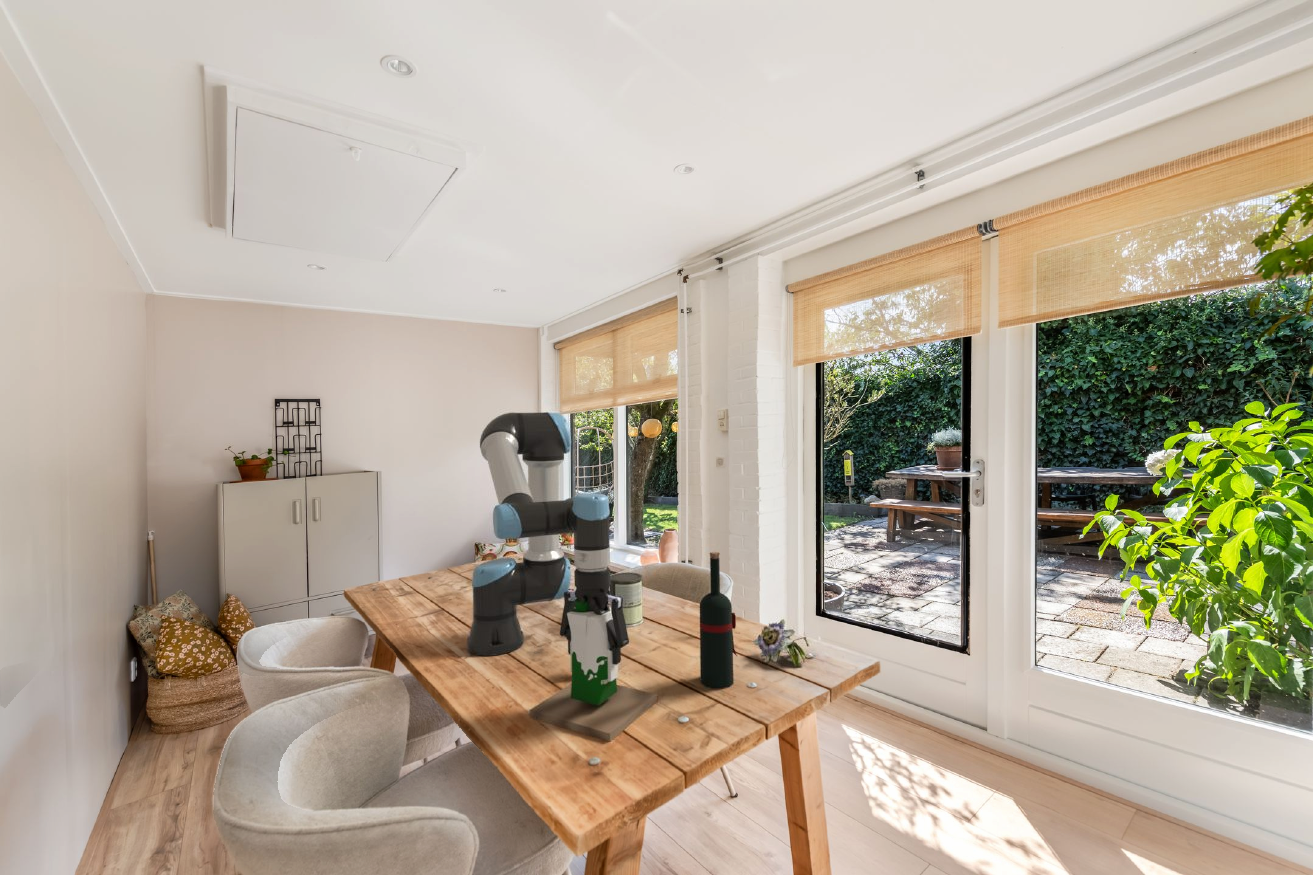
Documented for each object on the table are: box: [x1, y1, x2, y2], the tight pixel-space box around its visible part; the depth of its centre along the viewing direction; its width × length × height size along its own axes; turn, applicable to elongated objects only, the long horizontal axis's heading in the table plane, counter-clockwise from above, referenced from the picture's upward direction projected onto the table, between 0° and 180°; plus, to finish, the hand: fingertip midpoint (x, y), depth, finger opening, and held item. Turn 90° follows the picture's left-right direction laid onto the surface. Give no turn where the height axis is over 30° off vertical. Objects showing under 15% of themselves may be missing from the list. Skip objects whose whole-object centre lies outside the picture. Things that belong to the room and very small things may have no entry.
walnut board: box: [529, 683, 658, 742], centre depth 119 cm, size 20×18×2 cm
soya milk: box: [567, 599, 618, 706], centre depth 119 cm, size 9×9×20 cm
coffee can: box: [609, 572, 644, 628], centre depth 174 cm, size 10×10×14 cm
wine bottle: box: [699, 551, 738, 690], centre depth 131 cm, size 8×10×30 cm
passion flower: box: [752, 618, 810, 668], centre depth 143 cm, size 11×11×12 cm
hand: (594, 674), depth 119 cm, fingers closed on soya milk, 9 cm apart
